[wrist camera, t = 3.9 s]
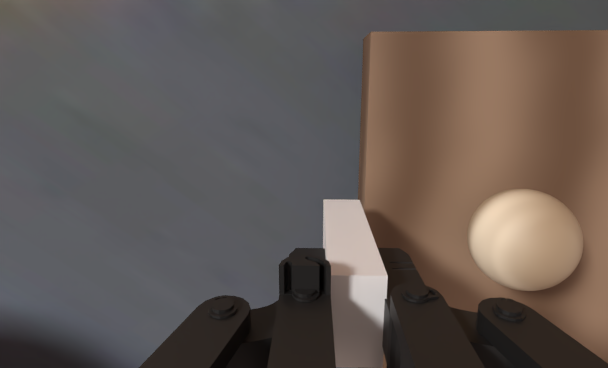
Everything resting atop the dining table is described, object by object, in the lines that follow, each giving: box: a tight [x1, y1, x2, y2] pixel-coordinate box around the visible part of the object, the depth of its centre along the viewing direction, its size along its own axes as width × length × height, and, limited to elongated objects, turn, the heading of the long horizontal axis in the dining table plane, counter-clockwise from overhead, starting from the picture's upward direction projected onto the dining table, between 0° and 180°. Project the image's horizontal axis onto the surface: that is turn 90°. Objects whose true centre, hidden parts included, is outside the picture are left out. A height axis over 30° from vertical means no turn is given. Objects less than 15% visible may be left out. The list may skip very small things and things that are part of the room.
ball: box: [467, 189, 583, 291], centre depth 15 cm, size 4×4×4 cm
